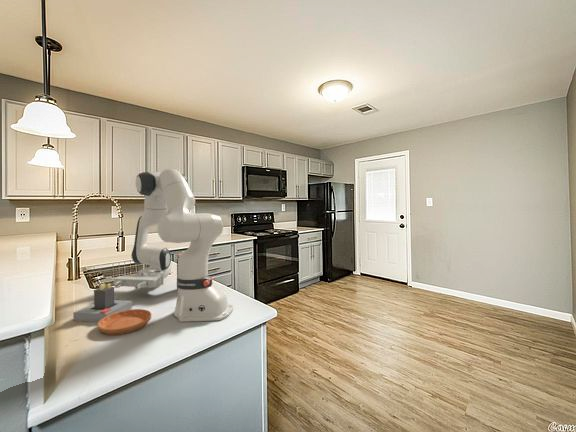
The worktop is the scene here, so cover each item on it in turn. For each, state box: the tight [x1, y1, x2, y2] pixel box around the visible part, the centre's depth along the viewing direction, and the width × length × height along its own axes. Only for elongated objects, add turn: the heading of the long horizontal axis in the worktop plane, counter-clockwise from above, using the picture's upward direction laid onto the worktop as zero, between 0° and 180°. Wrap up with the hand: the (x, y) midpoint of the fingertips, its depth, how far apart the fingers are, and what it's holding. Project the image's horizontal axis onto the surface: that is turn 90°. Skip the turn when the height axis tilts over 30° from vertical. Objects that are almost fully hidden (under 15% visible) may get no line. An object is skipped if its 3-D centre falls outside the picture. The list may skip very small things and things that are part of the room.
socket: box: [73, 299, 133, 323], centre depth 100 cm, size 13×13×4 cm
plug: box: [93, 283, 115, 310], centre depth 99 cm, size 4×4×12 cm
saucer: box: [96, 308, 152, 336], centre depth 90 cm, size 16×16×3 cm
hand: (126, 286), depth 111 cm, fingers open, 8 cm apart
